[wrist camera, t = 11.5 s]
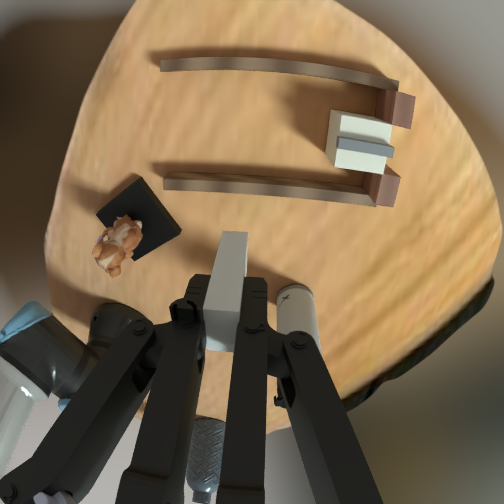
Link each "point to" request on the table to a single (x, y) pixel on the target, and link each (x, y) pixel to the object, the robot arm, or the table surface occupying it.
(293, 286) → the travel mug
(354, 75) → the guide
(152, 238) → the figurine
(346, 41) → the table surface
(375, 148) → the block
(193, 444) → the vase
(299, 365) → the robot arm
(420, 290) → the table surface
